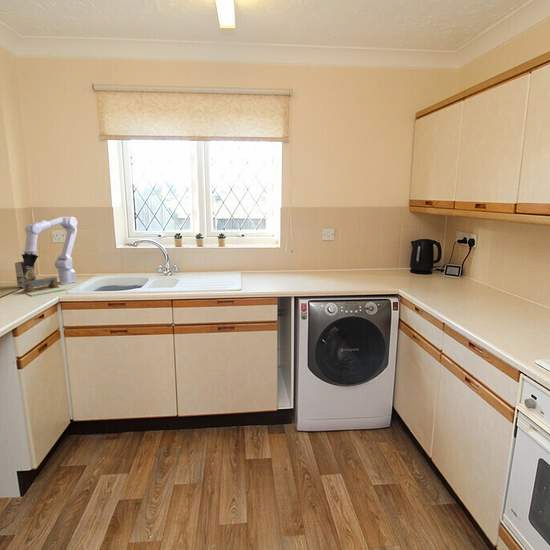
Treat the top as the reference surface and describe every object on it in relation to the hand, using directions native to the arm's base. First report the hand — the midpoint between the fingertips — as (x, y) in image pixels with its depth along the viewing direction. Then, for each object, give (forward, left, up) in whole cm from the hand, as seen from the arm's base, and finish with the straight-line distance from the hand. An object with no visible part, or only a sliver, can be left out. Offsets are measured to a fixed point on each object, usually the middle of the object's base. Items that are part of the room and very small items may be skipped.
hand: (28, 266), depth 241 cm
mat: (-5, +10, -15) cm, 19 cm away
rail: (-5, +1, -12) cm, 13 cm away
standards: (-5, +1, -15) cm, 16 cm away
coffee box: (-3, -16, -16) cm, 22 cm away
